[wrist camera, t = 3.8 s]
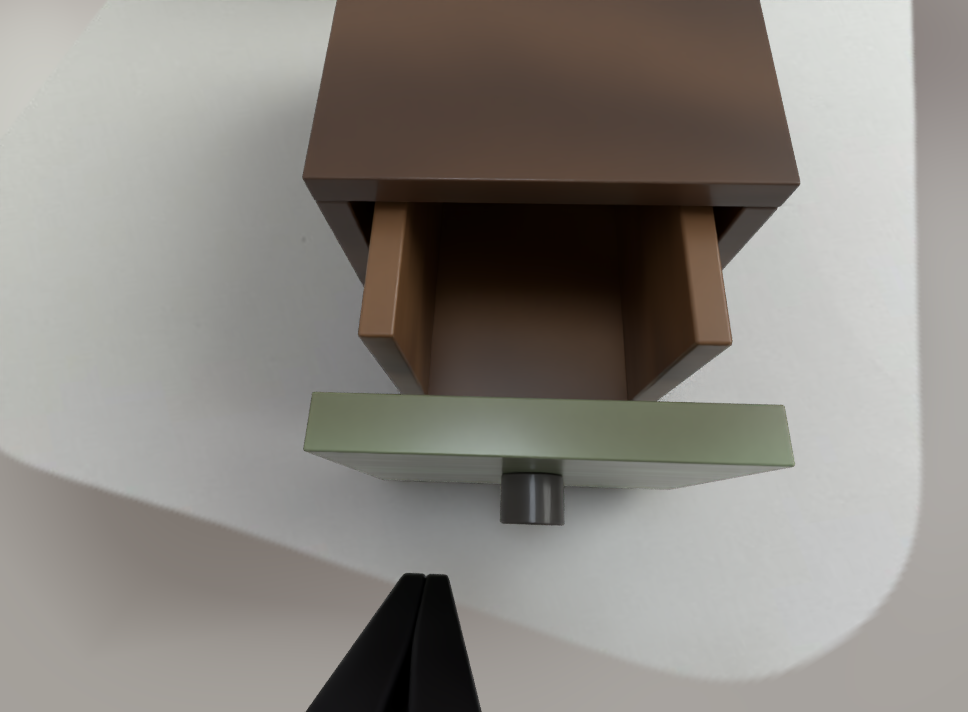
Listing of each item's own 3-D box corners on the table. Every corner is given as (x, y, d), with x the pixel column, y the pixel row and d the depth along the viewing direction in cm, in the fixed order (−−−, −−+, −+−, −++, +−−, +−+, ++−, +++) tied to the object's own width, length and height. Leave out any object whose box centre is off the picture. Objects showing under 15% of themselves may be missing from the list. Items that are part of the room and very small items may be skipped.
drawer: (674, 529, 15) (809, 535, 8) (377, 518, 15) (291, 516, 9) (641, 173, 19) (713, 1, 13) (413, 170, 20) (373, 1, 13)
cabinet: (664, 336, 18) (801, 183, 10) (387, 329, 18) (301, 177, 10) (638, 69, 22) (718, -187, 14) (415, 68, 23) (371, -183, 15)
